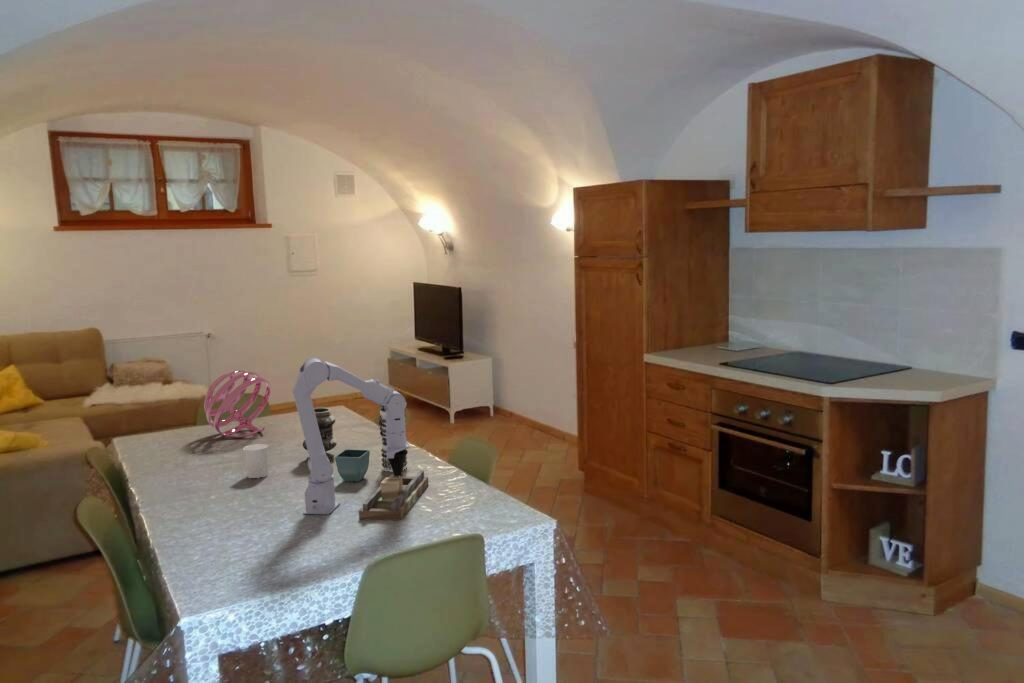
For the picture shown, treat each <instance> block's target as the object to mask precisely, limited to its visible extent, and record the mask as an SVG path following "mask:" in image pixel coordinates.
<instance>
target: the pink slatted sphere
mask: <svg viewBox="0 0 1024 683" xmlns="http://www.w3.org/2000/svg"><path fill="white" fill-rule="evenodd" d="M235 374H237V375H235ZM253 375H254V377H253V378H250V376H253ZM227 378H229V380H227V381H226V382H225V383H224V384H223V385H221V386H220V387H219V389H218V390H217V391H216V392H215V389H216V388H217V387H218V386H219V385H220V384H221V383H222V382H223V381H224V380H226V379H227ZM240 379H242V383H241V384H239V385H238V386H237V387H236V388H234V387H235V385H236V382H237V381H239V380H240ZM263 383H266V384H265V385H266V388H265V392H264V396H263V398H262V399H261V402H260V403H259V405H258V407H257V408H256V409H255V410H253V412H252V413H251V414H250V415H249V416H248V417H247V418H245V417H244V414H245V413H246V412H247V411H248V410H249V409H250V408H251V406H252V405H253V404H254V402H255V401H256V400H257V398H258V396H259V394H260V392H261V388H262V384H263ZM254 384H255V386H254V388H253V391H252V392H251V395H250V396H249V398H248V399H247V400H246V401H245V402H244V404H243V405H242V406H241V407H240V408H239V409H235V405H236V404H237V403H238V402H239V401H240V400H241V398H243V396H244V395H245V393H246V391H247V389H248V388H249V387H251V386H252V385H254ZM271 387H272V386H271V384H270V383H269V381H268V380H267V379H266V378H263V377H261V376H260V375H259V374H258V373H256V372H254V371H245V370H242V369H240V370H234V371H230V372H228V373H224V374H223V375H220V376H219V377H217V378H216V379H214V381H213V382H212V383H211V385H210V386H209V388H208V389H207V392H206V395H205V398H204V403H203V407H204V412H205V415H206V420H207V422H208V423H209V425H210V426H211V427H212V428H213V429H214V430H215V431H216V432H217V433H219V434H220V435H222V436H224V437H227V438H230V439H244V438H247V437H251V436H253V435H254V434H256V433H262V432H264V431H265V430H266V427H262V428H258V427H257V426H255V425H253V424H252V423H253V422H254V420H255V419H256V418H258V416H259V415H260V414H261V412H262V411H263V410H264V408H266V407H265V406H266V405H267V404H268V402H269V399H270V396H271V393H272V388H271ZM233 388H234V389H233ZM214 392H215V393H214ZM219 401H222V403H221V404H220V406H218V408H215V409H213V408H214V406H215V404H216V403H217V402H219ZM225 412H229V413H230V416H228V417H227V418H225V419H222V420H221V418H222V416H223V414H224V413H225ZM213 416H214V419H213V418H212V417H213ZM233 422H238V423H239V424H238V425H236V426H235V427H233V428H231V429H228V430H220V428H221V427H225V426H228V425H230V424H231V423H233ZM243 429H248V430H250V431H252V432H249V433H247V434H243V435H233V433H234V434H236V433H238V432H240V431H242V430H243ZM230 434H231V435H230Z"/></svg>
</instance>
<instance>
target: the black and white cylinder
mask: <svg viewBox="0 0 1024 683" xmlns="http://www.w3.org/2000/svg"><path fill="white" fill-rule="evenodd" d="M379 408H380V410H379V414H380V415H378V420H379V421H378V424H379V430H380V432H379V434H380V438H381V441H382V443H381V449H380V451H381V456H382V458H381V462H382V463H381V466H382V468H381V469H382V471H384V470H385V471H384V472H387V471H390V472H389V473H393V470H392V467H391V464H390V462H389V460H388V458H387V457H386V452H387V448H386V446H387V434H386V407H385V406H381V405H379ZM387 409H388V408H387ZM404 415H405V418H406V417H407V415H406V411H404ZM405 423H406V420H405ZM406 426H407V425H406V424H405V428H406ZM404 450H407V449H404ZM407 460H408V457H407V456H406V457H405V461H404V465H403V471H405V470H407V469H406V468H408V461H407ZM404 469H405V470H404Z"/></svg>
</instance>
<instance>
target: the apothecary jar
mask: <svg viewBox="0 0 1024 683" xmlns="http://www.w3.org/2000/svg"><path fill="white" fill-rule="evenodd" d="M314 411H315V415H316V419H317V423H318V427H319V431H320V435H321V439H322V442H323V446H324V450H325V453H326V456H327V457H328V459H329V461H331V460H330V459H332V460H334V459H335V458H334V457H335V454H333V453H330V452H329V451H331V450H333V449H335V447H336V446H337V443H338V441H337V439H336V437H334V431H333V430H334V429H333V425H334V424H335V423H336V417H335V415H334V414H332V412H331V409H330V408H329V407H314ZM302 447H303V449H304V450H306V451H307V452H308V450H307V445H306V442H305V439H304V440H303V441H302ZM333 458H334V459H333ZM308 459H309V456H308V457H307V458H306V461H307V460H308Z"/></svg>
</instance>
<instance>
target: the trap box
mask: <svg viewBox="0 0 1024 683" xmlns="http://www.w3.org/2000/svg"><path fill="white" fill-rule="evenodd" d="M424 472H425V471H424V470H419V471H418V473H416V474H415V476H402V475H401V476H394V473H393V472H391V474H390V475H389V476H388V477H393V478H402V483H403V491H402V492H401V494H400V495H399V496H398V497H397V498H396V499H382V495H381V485H380V486H378V487H377V489H376V490H374V492H373V493H372V494H371V495H370V496H369V497H368V498H367V499H366V500H365V501H364V502H363V503H362V507H361V508H360V509H359V510H358V520H363V519H370V520H369V521H372V520H373V521H401V520H402V519H403V518H404V516H406V514H407V513H408V511H409V510H410V509H411V508H412V506H413V505H414V503H415V502H416V501H417V500H418V499H419V497H420V496H421V495H422V494H423V492H424V491H425V490H426V488H427V487H428V486H429V476H425V473H424ZM427 485H428V486H427ZM426 486H427V487H426ZM423 490H424V491H423ZM422 491H423V492H422ZM420 494H421V495H420ZM419 495H420V496H419ZM417 498H418V499H417Z"/></svg>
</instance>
